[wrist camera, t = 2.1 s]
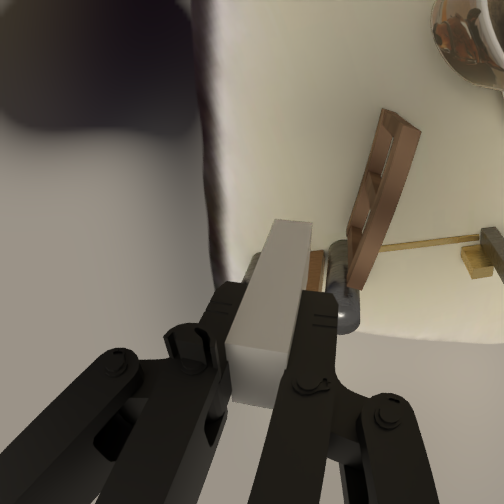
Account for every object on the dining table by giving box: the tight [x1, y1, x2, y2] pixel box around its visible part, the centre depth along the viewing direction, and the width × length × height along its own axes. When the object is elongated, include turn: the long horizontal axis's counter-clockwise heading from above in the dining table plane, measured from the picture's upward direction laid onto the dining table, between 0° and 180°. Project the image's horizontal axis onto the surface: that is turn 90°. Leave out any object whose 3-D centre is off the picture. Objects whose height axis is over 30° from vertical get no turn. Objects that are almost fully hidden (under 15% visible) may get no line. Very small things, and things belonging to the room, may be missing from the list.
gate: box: [346, 108, 421, 290], centre depth 23 cm, size 12×1×9 cm, turn 171°
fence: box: [241, 234, 479, 335], centre depth 27 cm, size 25×3×10 cm, turn 106°
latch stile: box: [461, 227, 504, 283], centre depth 23 cm, size 4×3×10 cm
